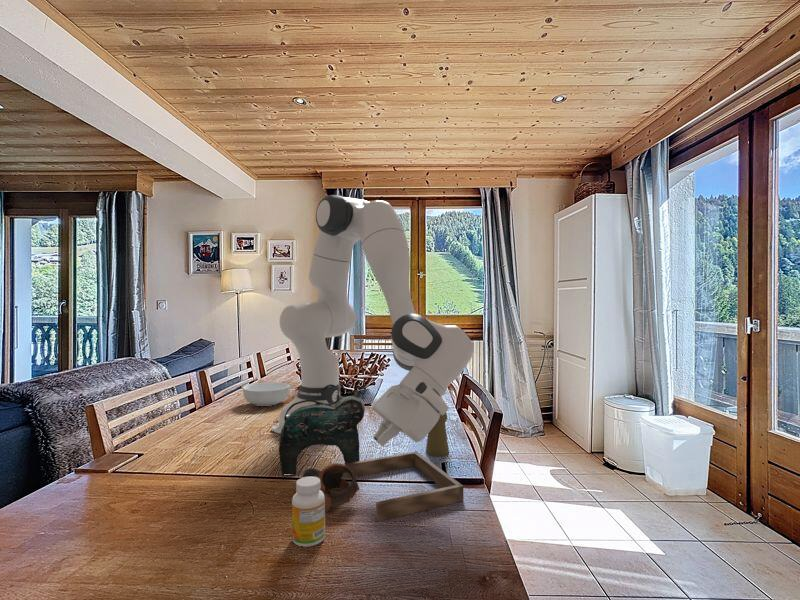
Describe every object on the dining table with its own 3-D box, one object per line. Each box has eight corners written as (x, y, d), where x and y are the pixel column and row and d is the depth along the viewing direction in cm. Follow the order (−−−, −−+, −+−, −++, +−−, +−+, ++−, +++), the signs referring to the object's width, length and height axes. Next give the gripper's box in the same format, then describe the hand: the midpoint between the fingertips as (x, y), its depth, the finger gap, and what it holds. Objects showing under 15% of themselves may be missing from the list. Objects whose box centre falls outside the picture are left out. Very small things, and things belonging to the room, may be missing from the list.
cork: (448, 457, 109) (447, 413, 109) (424, 455, 110) (423, 412, 110) (450, 448, 115) (449, 407, 114) (427, 447, 116) (427, 406, 116)
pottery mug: (362, 492, 91) (366, 466, 87) (346, 533, 83) (349, 506, 79) (310, 474, 93) (311, 447, 89) (288, 512, 85) (289, 485, 81)
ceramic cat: (364, 462, 106) (363, 380, 106) (367, 473, 99) (366, 386, 99) (280, 468, 102) (279, 384, 102) (277, 480, 96) (276, 390, 96)
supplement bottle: (295, 530, 75) (294, 475, 75) (326, 529, 76) (325, 473, 76) (289, 548, 70) (289, 488, 70) (323, 546, 70) (322, 487, 70)
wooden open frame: (416, 463, 105) (416, 451, 105) (463, 501, 85) (463, 486, 85) (344, 476, 97) (344, 463, 97) (378, 521, 78) (378, 504, 78)
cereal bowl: (263, 412, 152) (263, 392, 152) (233, 406, 161) (233, 387, 161) (299, 402, 166) (299, 384, 166) (270, 397, 175) (269, 379, 175)
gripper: (391, 372, 102) (352, 419, 98) (433, 390, 83) (385, 449, 79) (409, 390, 104) (370, 436, 100) (453, 411, 85) (407, 469, 81)
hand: (377, 442), depth 89 cm, fingers closed
